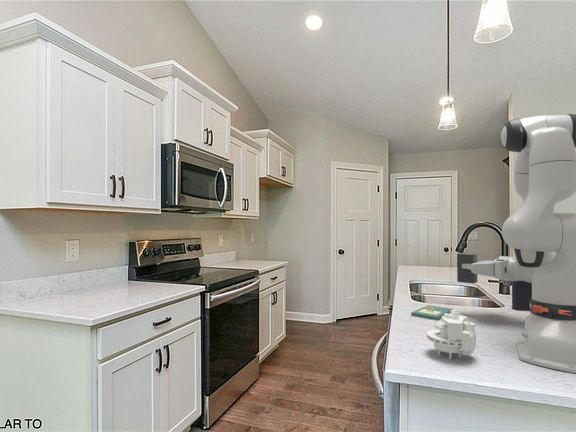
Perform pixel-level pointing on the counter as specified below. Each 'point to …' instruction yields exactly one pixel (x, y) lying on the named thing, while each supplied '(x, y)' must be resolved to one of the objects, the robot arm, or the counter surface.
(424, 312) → the header board
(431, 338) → the mechanical part
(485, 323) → the counter surface
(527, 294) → the calculator
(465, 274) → the plug housing
